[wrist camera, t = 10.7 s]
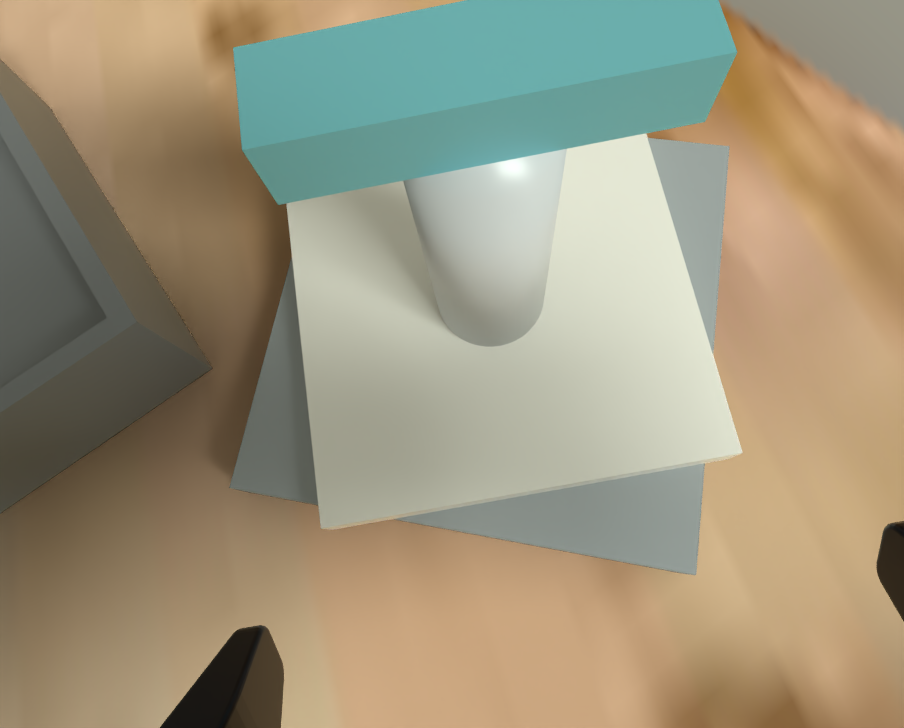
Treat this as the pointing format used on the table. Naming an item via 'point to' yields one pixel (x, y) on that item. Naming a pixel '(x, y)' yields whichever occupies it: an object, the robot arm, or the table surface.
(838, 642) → the table surface
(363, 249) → the cover
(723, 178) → the pad
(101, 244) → the housing
